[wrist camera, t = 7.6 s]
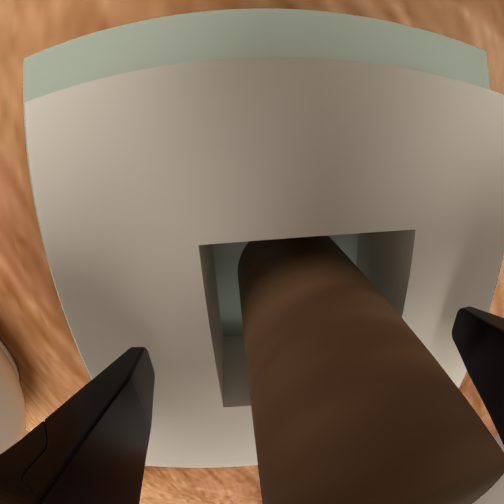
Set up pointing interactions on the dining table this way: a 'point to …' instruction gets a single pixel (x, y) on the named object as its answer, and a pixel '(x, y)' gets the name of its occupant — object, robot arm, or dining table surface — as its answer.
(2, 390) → the lidded jar
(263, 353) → the peg
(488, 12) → the dining table surface
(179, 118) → the socket
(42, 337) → the dining table surface
